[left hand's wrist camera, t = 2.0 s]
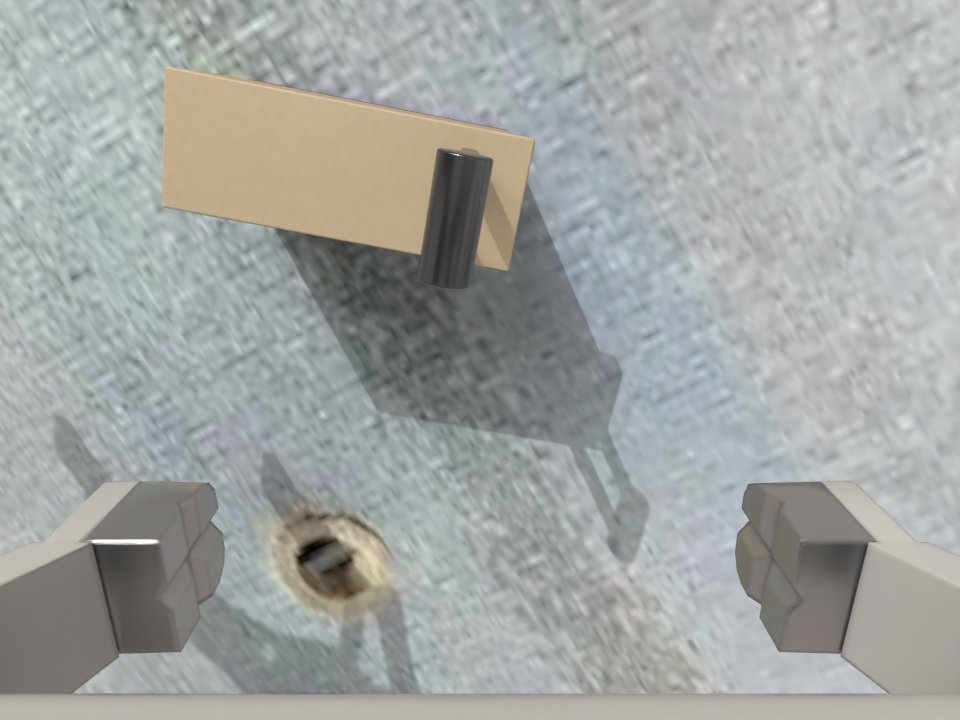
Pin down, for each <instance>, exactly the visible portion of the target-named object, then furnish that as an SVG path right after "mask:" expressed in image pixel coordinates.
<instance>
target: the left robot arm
mask: <svg viewBox="0 0 960 720" xmlns="http://www.w3.org/2000/svg"><path fill="white" fill-rule="evenodd" d="M217 510H218V503H217V498H216V493H215V489H214V488H213V487H212V486H211V485H210V484H209V483H200V482H148V481H146V482H142V481H113V482H107V483H103V484H102V485H101V486H100V487H99V488H98V489H97V490H96V491H95V492H94V493H93V494H92V495H91V496H90V497H89V498H88V499H87V500H86V501H85V502H84V503H83V504H82V505H81V506H80V507H79V508H78V509H77V510H76V511H74V512H73V513H72V514H71V515H70V516H69V517H68V518H67V519H66V520H65V521H64V522H63V523H62V524H61V525H60V526H59V527H58V528H57V529H56V530H55V531H54V532H53V533H52V534H51V535H50V536H49V537H48V538H47V539H45V540H44V541H43V542H31V543H29V544H27V545H24V546H22V547H20V548H17V549H15V550H13V551H10V552H8V553H6V554H4V555H1V556H0V720H960V556H959V555H956V554H954V553H952V552H949V551H947V550H945V549H943V548H940V547H938V546H936V545H933V544H931V543H929V542H917V541H916V540H915V539H914V538H912V537H911V536H910V535H909V534H908V533H907V532H906V531H905V530H904V529H903V528H902V527H901V526H900V525H899V524H898V523H897V522H896V521H895V520H894V519H893V518H892V517H891V516H890V515H889V514H888V513H887V512H886V511H885V510H884V509H883V508H882V507H880V506H879V505H878V504H877V503H876V502H875V501H874V500H873V499H872V498H871V497H870V496H869V495H868V494H867V493H866V492H865V491H864V490H863V489H862V488H861V487H860V486H859V485H858V484H856V483H853V482H851V481H827V482H788V483H754V484H748V486H747V488H746V491H745V493H744V497H743V503H742V510H743V511H744V513H745V514H746V516H747V517H748V519H749V520H750V521H749V522H748V523H747V524H746V525H745V526H744V527H743V528H742V529H741V530H740V531H739V532H738V533H737V541H736V550H735V556H736V566H737V572H738V575H739V579H740V582H741V584H742V586H743V588H744V590H745V592H746V594H747V596H749V597H750V598H752V599H753V600H755V601H756V602H758V603H759V604H761V605H762V606H761V612H760V619H761V621H762V623H763V624H764V626H765V628H766V630H767V632H768V633H769V635H770V637H771V639H772V640H773V642H774V644H775V646H776V647H777V649H778V651H779V652H800V653H837V654H841V657H842V658H843V659H845V660H846V661H847V662H849V663H850V664H851V665H852V666H854V667H855V668H856V669H858V670H859V671H860V672H861V673H863V674H864V675H865V676H867V677H868V678H869V679H870V680H872V681H873V682H874V683H876V684H877V685H878V686H879V687H881V688H882V689H883V690H885V691H886V692H887V693H889V694H72V693H73V692H74V691H76V690H77V689H78V688H79V687H81V686H82V685H83V684H85V683H86V682H87V681H88V680H90V679H91V678H92V677H94V676H95V675H96V674H98V673H99V672H100V671H101V670H103V669H104V668H105V667H107V666H108V665H109V664H110V663H112V662H113V661H114V660H116V659H117V658H118V657H119V654H123V653H158V652H181V651H182V649H183V648H184V646H185V644H186V642H187V640H188V639H189V637H190V635H191V633H192V632H193V630H194V628H195V626H196V624H197V623H198V621H199V619H200V612H199V606H198V605H199V604H201V603H202V602H204V601H205V600H207V599H208V598H210V597H211V596H213V594H214V592H215V590H216V588H217V586H218V584H219V582H220V579H221V575H222V570H223V566H224V549H225V547H224V540H223V533H222V532H221V531H220V530H219V529H218V528H217V527H216V526H215V525H214V524H213V523H212V522H211V521H210V520H211V519H212V517H213V516H214V514H215V513H216V511H217Z"/></svg>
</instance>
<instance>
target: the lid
mask: <svg viewBox="0 0 960 720" xmlns="http://www.w3.org/2000/svg"><path fill="white" fill-rule="evenodd" d="M534 145H535V140H534V139H533V138H529V137H524V136H519V135H514V134H509V133H504V132H499V131H493V130H488V129H483V128H478V127H473V126H468V125H463V124H458V123H453V122H448V121H443V120H438V119H433V118H428V117H423V116H418V115H412V114H407V113H402V112H397V111H392V110H387V109H382V108H377V107H372V106H367V105H362V104H357V103H352V102H347V101H342V100H337V99H331V98H326V97H321V96H316V95H311V94H306V93H301V92H296V91H291V90H286V89H281V88H276V87H271V86H266V85H261V84H256V83H250V82H245V81H240V80H235V79H230V78H225V77H220V76H215V75H210V74H205V73H200V72H195V71H190V70H185V69H180V68H174V67H168V66H167V67H165V92H164V142H163V192H162V206H163V207H164V208H170V209H175V210H180V211H186V212H191V213H197V214H202V215H207V216H213V217H218V218H223V219H229V220H234V221H239V222H245V223H250V224H256V225H261V226H266V227H272V228H277V229H282V230H288V231H293V232H298V233H304V234H309V235H315V236H320V237H325V238H331V239H336V240H341V241H347V242H352V243H357V244H363V245H368V246H373V247H379V248H384V249H390V250H395V251H400V252H406V253H411V254H416V255H420V261H419V268H418V274H417V276H418V278H419V279H420V280H422V281H424V282H426V283H428V284H431V285H435V286H439V287H444V288H452V289H462V288H468V287H469V286H470V285H471V280H472V275H473V269H474V265H475V266H481V267H486V268H491V269H497V270H502V271H508V270H509V267H510V262H511V257H512V252H513V247H514V243H515V238H516V233H517V228H518V223H519V218H520V213H521V208H522V203H523V198H524V194H525V189H526V184H527V179H528V174H529V169H530V164H531V159H532V154H533V150H534Z"/></svg>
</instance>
